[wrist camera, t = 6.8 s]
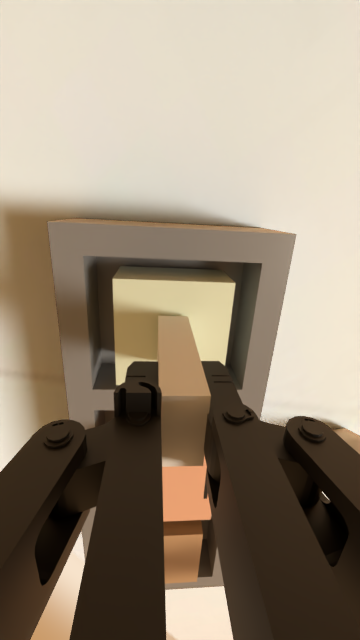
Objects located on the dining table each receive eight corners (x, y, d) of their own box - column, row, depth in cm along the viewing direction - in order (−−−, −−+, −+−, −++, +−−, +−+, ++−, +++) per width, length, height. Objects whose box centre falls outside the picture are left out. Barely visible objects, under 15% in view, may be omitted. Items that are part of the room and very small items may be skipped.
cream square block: (120, 266, 16) (112, 278, 13) (221, 269, 17) (235, 283, 14) (122, 356, 18) (116, 385, 16) (212, 357, 19) (222, 385, 16)
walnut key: (126, 496, 23) (121, 538, 20) (197, 493, 24) (203, 534, 21) (127, 542, 26) (123, 586, 23) (192, 539, 26) (196, 581, 23)
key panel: (76, 217, 18) (47, 221, 13) (261, 227, 19) (296, 234, 14) (100, 531, 28) (89, 594, 24) (216, 526, 30) (227, 585, 25)
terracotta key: (121, 413, 19) (115, 451, 16) (210, 412, 19) (220, 450, 16) (123, 478, 21) (117, 523, 18) (203, 476, 21) (210, 519, 18)
